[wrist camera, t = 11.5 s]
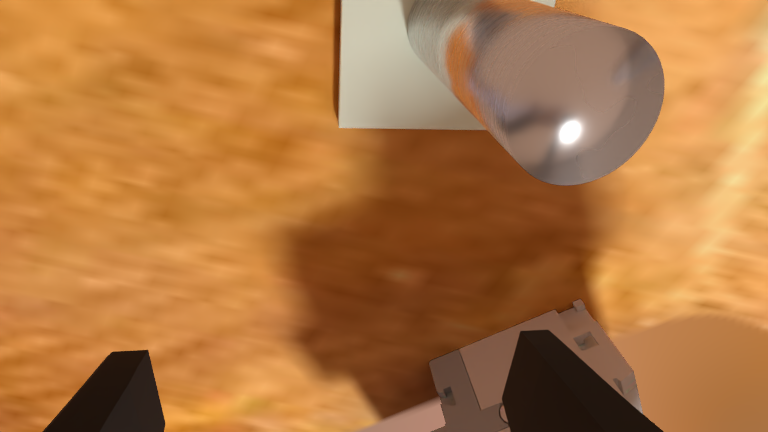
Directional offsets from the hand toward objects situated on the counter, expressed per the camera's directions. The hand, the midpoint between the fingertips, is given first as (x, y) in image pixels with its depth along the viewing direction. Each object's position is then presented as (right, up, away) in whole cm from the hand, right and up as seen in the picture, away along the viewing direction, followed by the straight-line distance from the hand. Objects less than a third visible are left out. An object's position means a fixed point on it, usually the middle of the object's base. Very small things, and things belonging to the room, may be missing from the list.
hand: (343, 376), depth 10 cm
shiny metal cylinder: (+3, +9, +6) cm, 12 cm away
